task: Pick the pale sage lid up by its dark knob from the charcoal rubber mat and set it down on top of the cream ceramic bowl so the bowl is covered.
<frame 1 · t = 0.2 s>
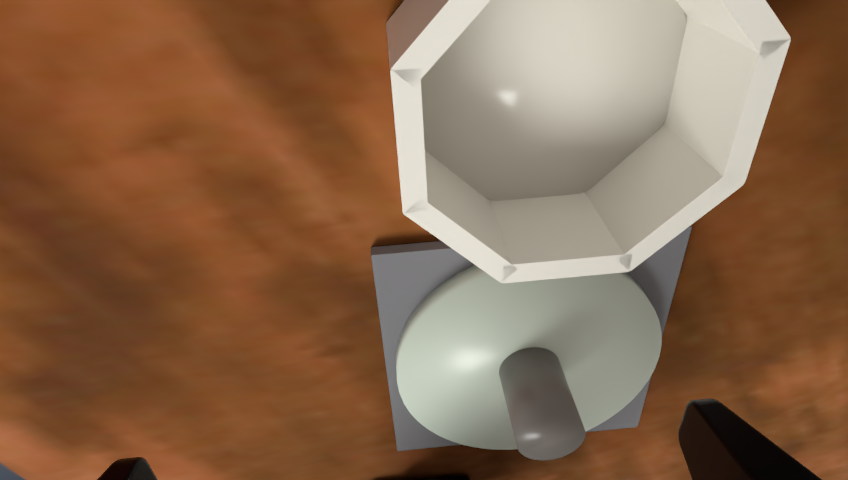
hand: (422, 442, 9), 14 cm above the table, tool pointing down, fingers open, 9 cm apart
bowl: (540, 76, 20), on the table
mat: (522, 345, 28), on the table
lid: (524, 353, 28), point 1 cm above the table, touching mat
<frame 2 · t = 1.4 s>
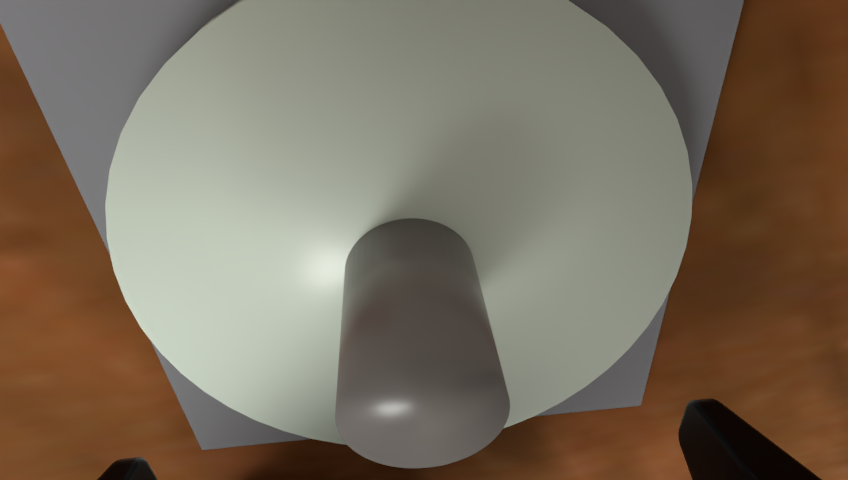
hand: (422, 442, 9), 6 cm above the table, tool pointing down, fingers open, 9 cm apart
mat: (406, 235, 14), on the table
lid: (407, 248, 14), point 1 cm above the table, touching mat
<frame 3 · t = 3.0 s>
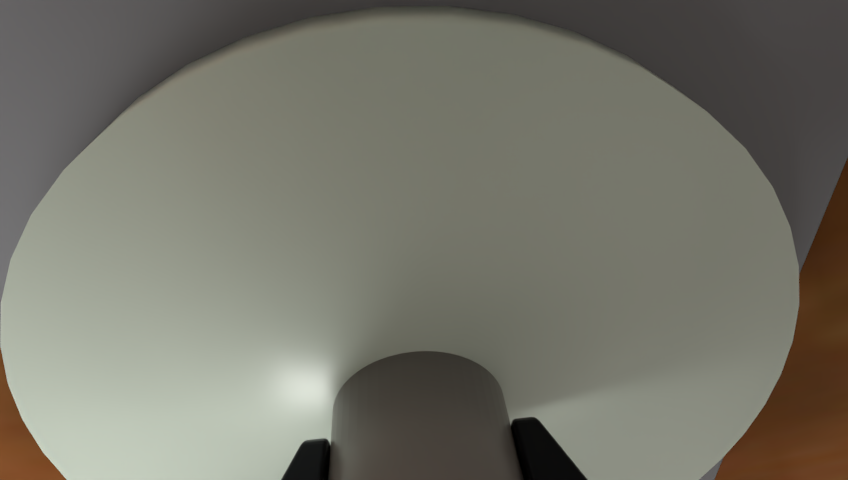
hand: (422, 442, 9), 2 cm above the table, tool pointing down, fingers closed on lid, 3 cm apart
mat: (413, 346, 11), on the table
lid: (415, 369, 11), point 1 cm above the table, touching gripper, mat
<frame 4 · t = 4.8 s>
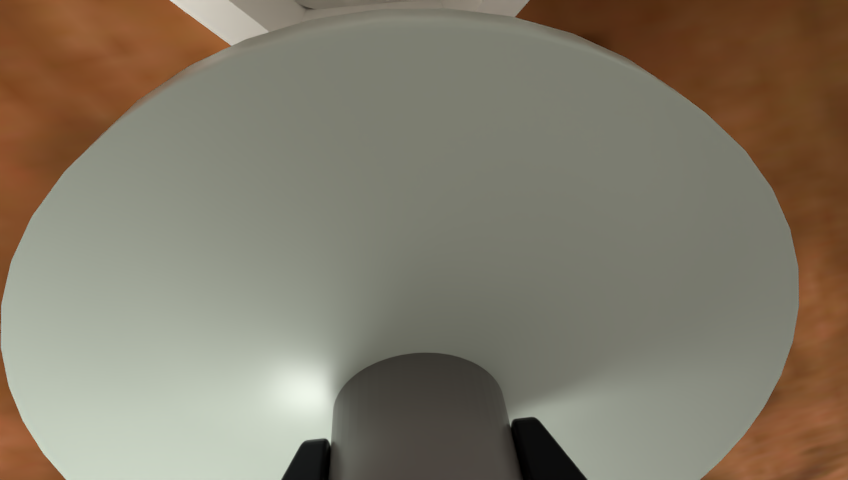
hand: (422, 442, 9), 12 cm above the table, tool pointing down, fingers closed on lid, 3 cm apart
lid: (415, 370, 11), point 11 cm above the table, touching gripper
when the fingers open (8 cm above the table, at t = 6.7 s): lid drops 1 cm, resting on bowl.
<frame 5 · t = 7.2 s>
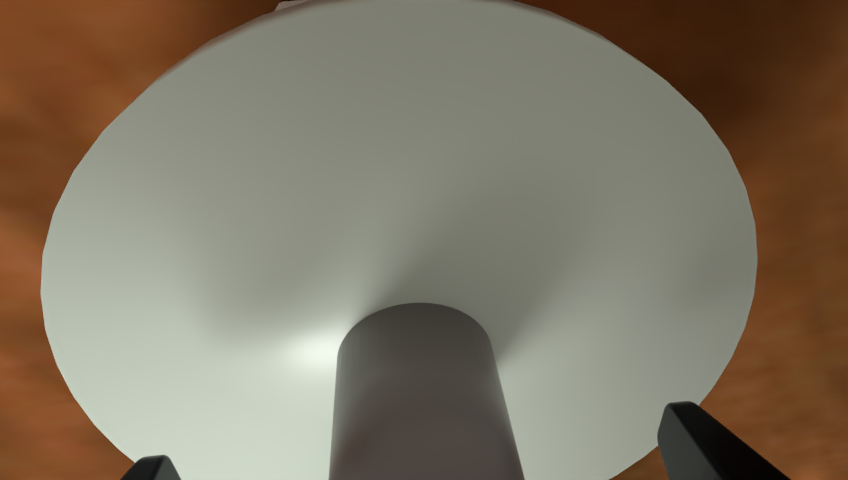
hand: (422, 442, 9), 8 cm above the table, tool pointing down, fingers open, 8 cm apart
lid: (412, 326, 11), point 5 cm above the table, touching bowl
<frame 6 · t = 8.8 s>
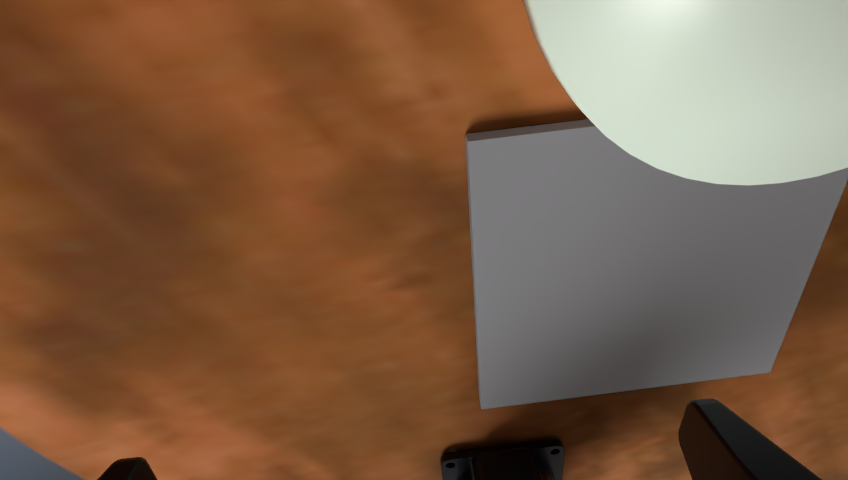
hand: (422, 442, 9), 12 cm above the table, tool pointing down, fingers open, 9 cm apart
mat: (640, 269, 23), on the table
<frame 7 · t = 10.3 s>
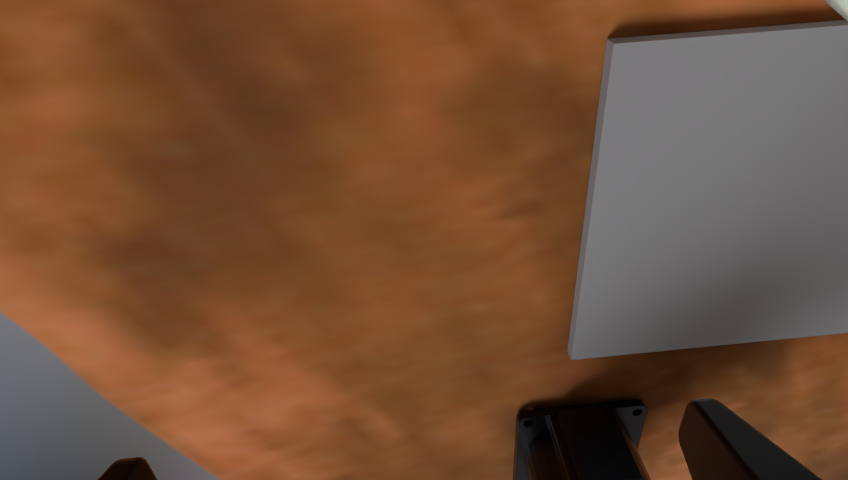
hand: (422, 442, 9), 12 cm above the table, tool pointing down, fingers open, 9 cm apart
mat: (758, 207, 22), on the table
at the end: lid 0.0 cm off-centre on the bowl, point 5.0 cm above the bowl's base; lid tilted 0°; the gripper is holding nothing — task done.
